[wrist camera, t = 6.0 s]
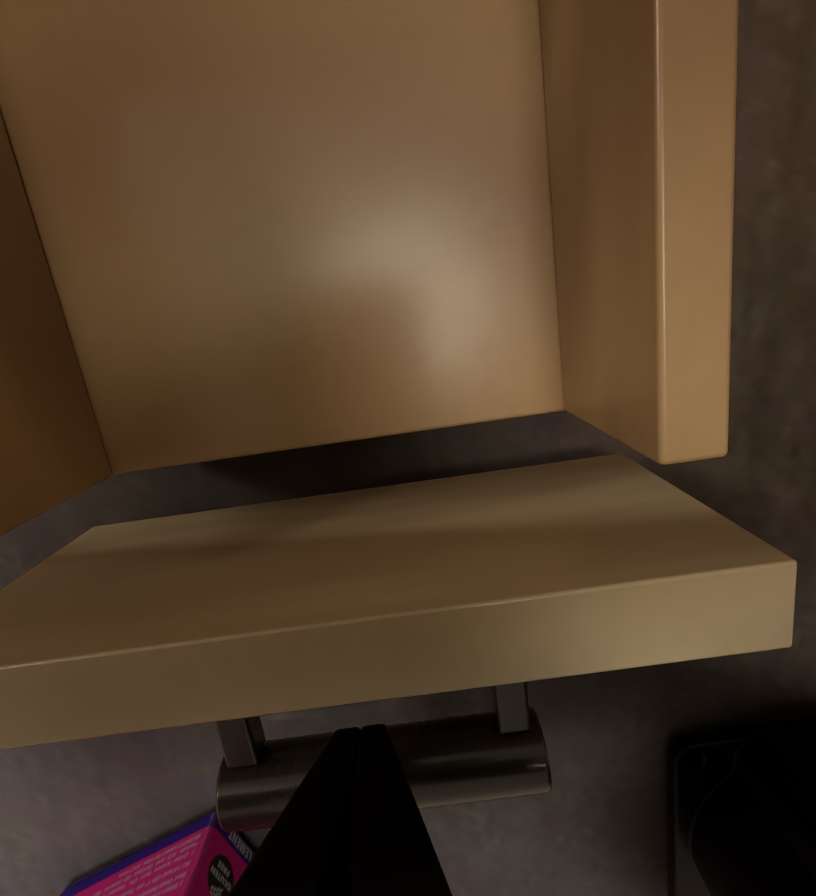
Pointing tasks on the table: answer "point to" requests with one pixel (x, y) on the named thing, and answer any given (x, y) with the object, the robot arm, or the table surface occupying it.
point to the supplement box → (174, 866)
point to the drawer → (366, 364)
